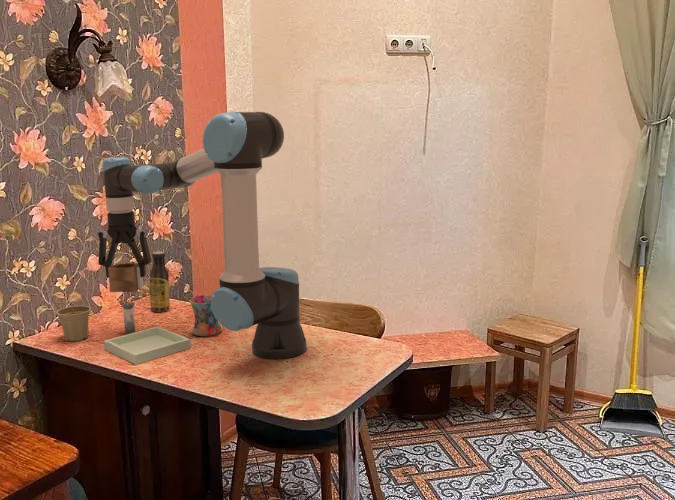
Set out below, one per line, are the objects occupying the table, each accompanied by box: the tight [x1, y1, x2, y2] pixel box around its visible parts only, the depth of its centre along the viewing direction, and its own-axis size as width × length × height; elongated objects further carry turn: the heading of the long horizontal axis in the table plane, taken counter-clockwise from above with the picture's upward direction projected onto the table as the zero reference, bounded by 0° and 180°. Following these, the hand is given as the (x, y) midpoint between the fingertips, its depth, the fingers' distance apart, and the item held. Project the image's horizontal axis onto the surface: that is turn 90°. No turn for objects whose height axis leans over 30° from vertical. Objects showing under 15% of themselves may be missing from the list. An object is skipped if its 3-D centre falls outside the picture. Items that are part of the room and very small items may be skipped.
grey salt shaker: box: [121, 301, 136, 335], centre depth 199 cm, size 4×4×9 cm
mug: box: [188, 294, 222, 337], centre depth 199 cm, size 12×9×11 cm
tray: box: [103, 326, 192, 366], centre depth 186 cm, size 17×17×3 cm
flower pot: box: [56, 305, 92, 342], centre depth 195 cm, size 9×9×9 cm
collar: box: [108, 262, 145, 293], centre depth 196 cm, size 8×8×7 cm
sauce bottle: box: [149, 250, 171, 313], centre depth 221 cm, size 6×6×20 cm
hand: (127, 287), depth 197 cm, fingers closed on collar, 7 cm apart
